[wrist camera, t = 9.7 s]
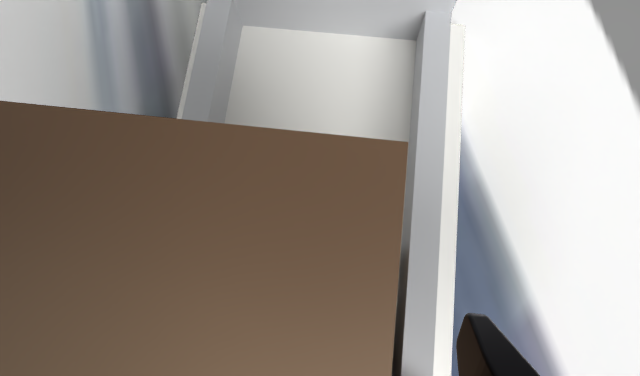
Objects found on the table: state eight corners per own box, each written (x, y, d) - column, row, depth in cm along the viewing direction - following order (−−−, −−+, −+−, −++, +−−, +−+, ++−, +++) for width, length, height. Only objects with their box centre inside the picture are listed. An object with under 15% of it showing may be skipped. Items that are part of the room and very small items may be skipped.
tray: (435, 569, 15) (477, 683, 10) (101, 516, 15) (10, 602, 11) (459, 38, 20) (494, -35, 16) (207, 16, 21) (174, -59, 16)
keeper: (380, 387, 15) (610, 827, 3) (188, 361, 16) (-421, 629, 3) (391, 247, 16) (582, 80, 4) (213, 226, 17) (-147, 13, 4)
